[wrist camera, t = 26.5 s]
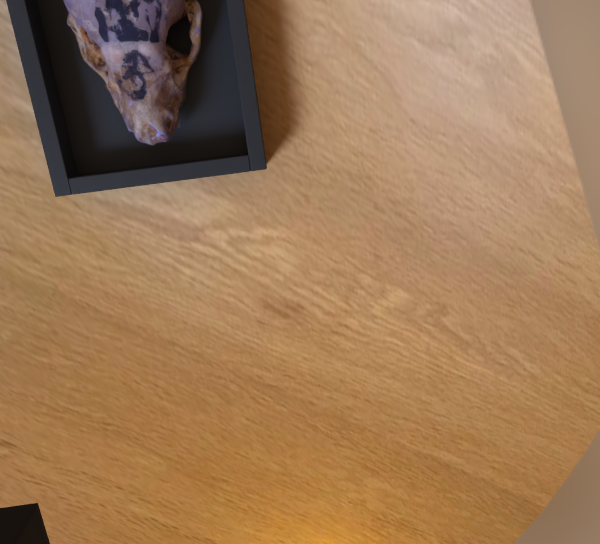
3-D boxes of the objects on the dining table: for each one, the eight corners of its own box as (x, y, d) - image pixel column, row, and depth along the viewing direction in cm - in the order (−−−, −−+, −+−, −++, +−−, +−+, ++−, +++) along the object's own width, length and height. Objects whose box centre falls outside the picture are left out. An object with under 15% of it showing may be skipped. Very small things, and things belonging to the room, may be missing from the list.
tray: (225, -133, 31) (222, -154, 29) (266, 165, 36) (267, 169, 34) (-4, -108, 31) (-27, -127, 28) (69, 191, 36) (55, 196, 33)
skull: (206, 147, 34) (179, 147, 28) (88, 141, 35) (36, 140, 29) (208, -64, 32) (178, -114, 26) (79, -68, 32) (20, -117, 26)
